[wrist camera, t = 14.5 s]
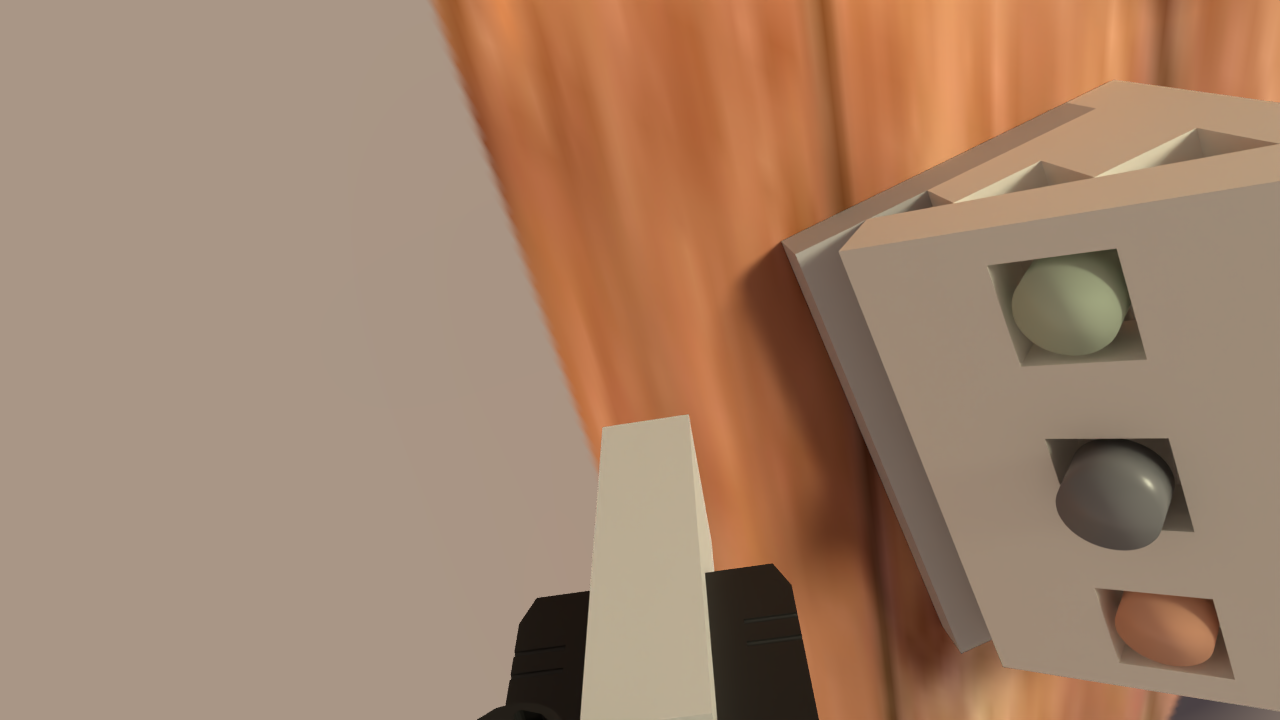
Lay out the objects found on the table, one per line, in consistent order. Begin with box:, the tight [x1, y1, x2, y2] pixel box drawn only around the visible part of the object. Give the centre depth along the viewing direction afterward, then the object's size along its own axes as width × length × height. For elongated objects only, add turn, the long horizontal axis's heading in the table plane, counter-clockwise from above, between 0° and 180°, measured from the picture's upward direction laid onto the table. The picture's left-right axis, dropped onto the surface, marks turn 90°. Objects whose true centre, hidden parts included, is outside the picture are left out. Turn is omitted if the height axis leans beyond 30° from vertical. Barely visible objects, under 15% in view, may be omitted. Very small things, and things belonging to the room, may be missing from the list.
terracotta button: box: [1115, 591, 1220, 666], centre depth 44 cm, size 4×4×4 cm
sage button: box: [1012, 249, 1131, 356], centre depth 38 cm, size 4×4×4 cm
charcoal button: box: [1056, 439, 1175, 551], centre depth 40 cm, size 4×4×4 cm
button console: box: [781, 80, 1280, 711], centre depth 42 cm, size 25×17×17 cm
